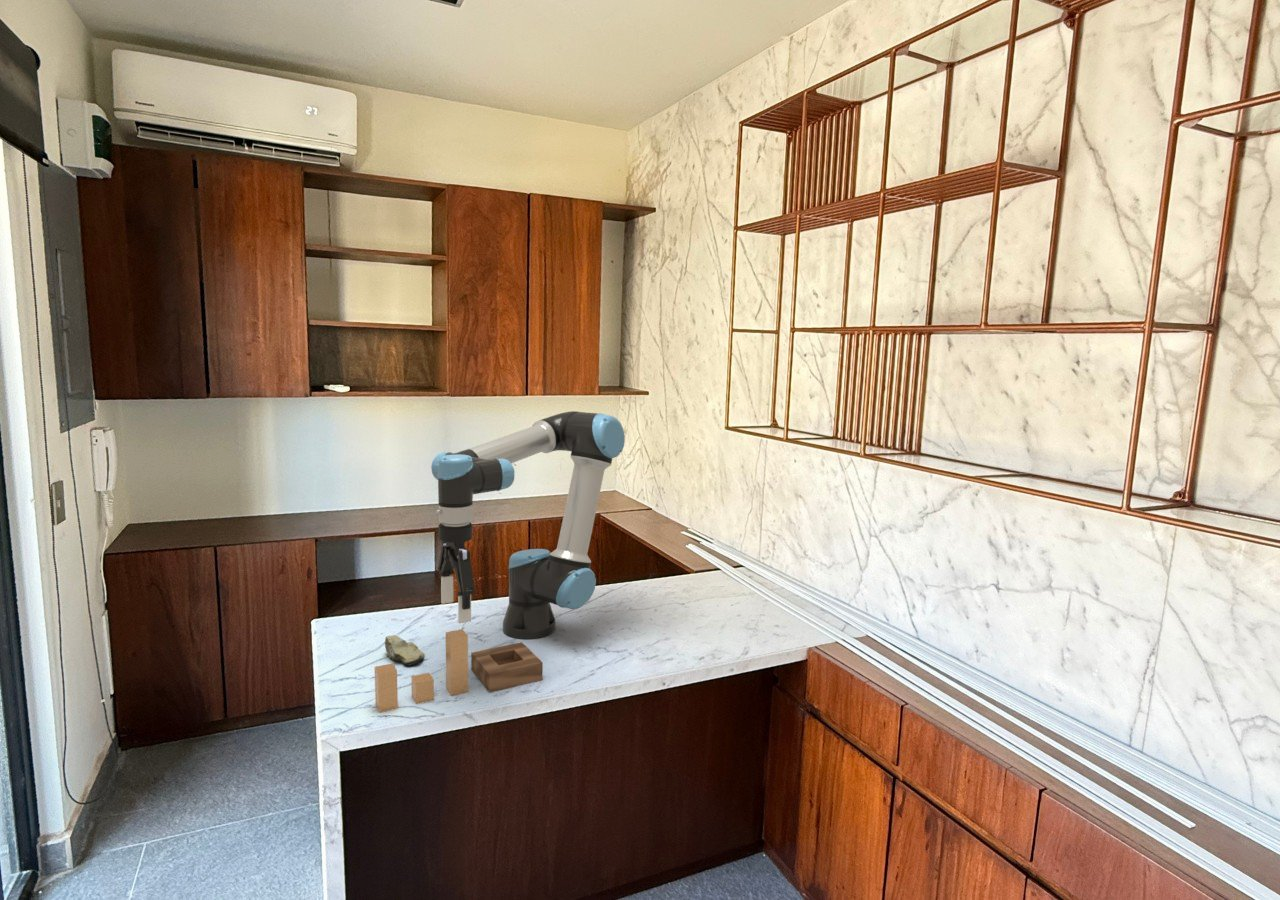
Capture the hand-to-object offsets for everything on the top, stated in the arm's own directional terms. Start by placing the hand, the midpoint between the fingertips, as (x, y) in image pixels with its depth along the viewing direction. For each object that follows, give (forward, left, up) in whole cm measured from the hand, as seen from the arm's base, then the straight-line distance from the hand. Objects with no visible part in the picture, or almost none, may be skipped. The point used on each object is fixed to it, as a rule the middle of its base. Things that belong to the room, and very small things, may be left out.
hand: (455, 612), depth 161 cm
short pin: (0, -8, -19) cm, 21 cm away
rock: (-23, -7, -20) cm, 31 cm away
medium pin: (0, -16, -19) cm, 25 cm away
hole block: (-2, +13, -19) cm, 24 cm away
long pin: (0, 0, -19) cm, 19 cm away
